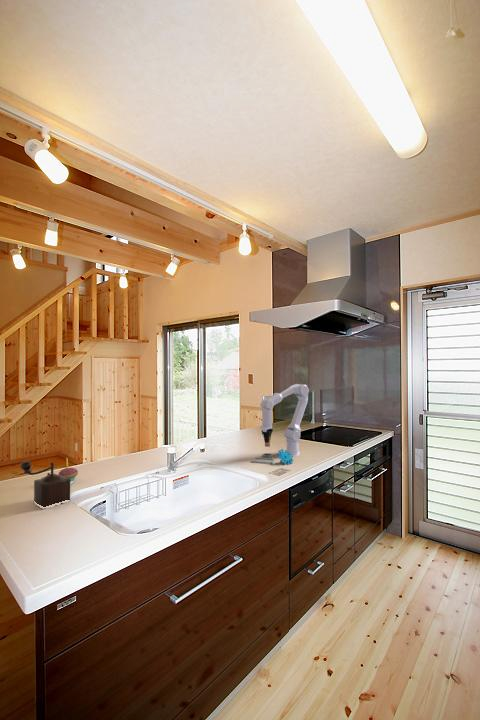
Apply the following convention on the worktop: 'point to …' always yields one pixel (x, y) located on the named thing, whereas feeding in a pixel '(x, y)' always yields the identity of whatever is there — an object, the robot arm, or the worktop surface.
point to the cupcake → (69, 472)
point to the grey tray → (263, 460)
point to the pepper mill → (48, 486)
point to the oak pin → (268, 443)
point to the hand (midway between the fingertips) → (267, 441)
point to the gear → (285, 457)
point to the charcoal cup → (267, 455)
